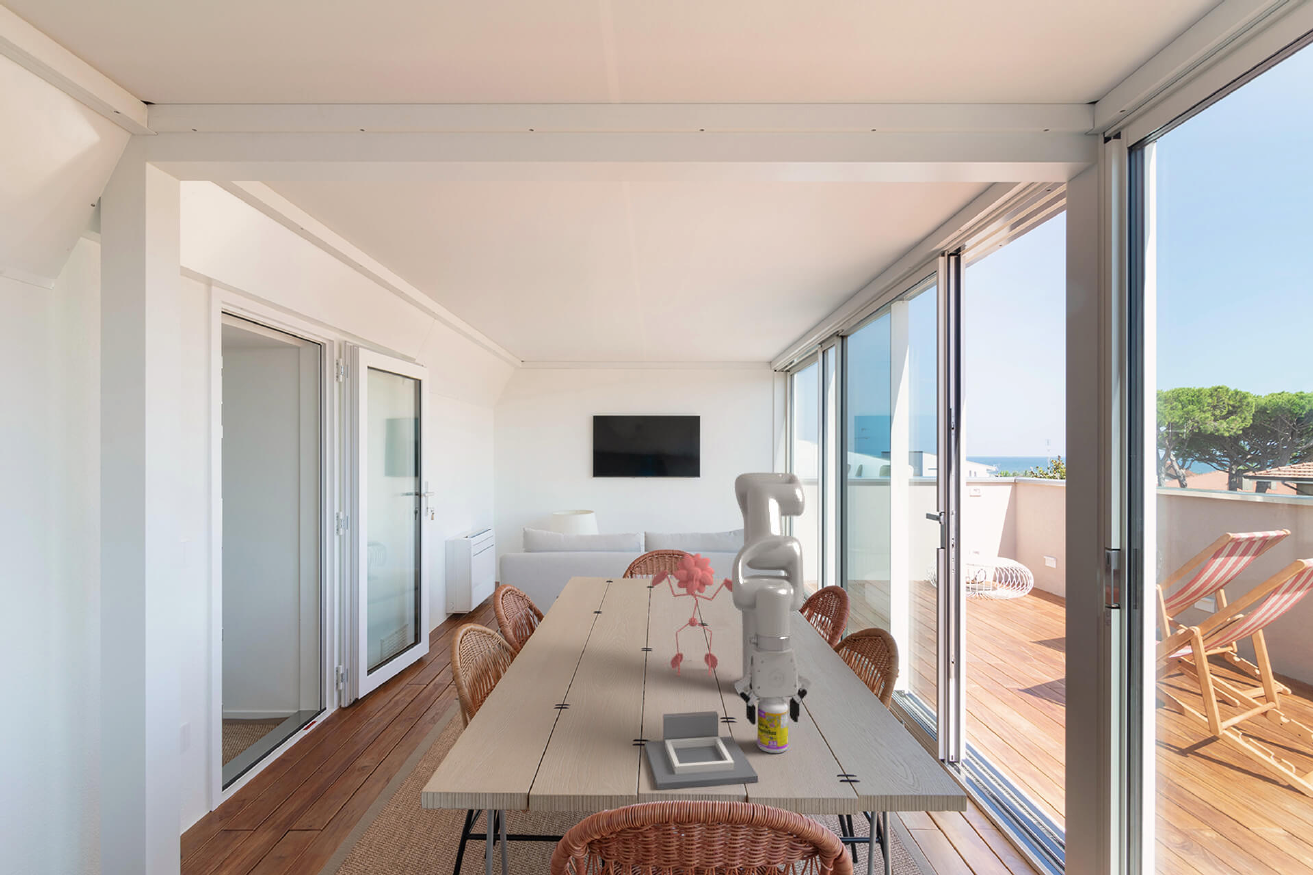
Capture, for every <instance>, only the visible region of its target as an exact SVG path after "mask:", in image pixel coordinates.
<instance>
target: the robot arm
mask: <svg viewBox="0 0 1313 875" xmlns="http://www.w3.org/2000/svg"><path fill="white" fill-rule="evenodd" d="M734 492H735V493H734V494H735V498H736V501H737V504H738V506H739V509H740V511H741V515H742V518H743V519H742V520H743V546H742V547H741V548H740V550H739V551H738V552H737V555H736V556H735V558H734V560H733V563H732V570H731V581H732V592H731V594H732V601H733V602H732V603H733V606H734V607H735V608H736V609H737V610H739V611H741V617H742V678H741V679H740V680H738V681H736V682H735V683H734V684H733V686H734V688H735V689H736V692H737V693H738V695H739V697H740V698H741V699H742V700H743V701H744V702H745V708H746V709H745V710H746V711H745V714H746V720H748V721H749V723H750V724H751V725H752V726H753V725H756V723H757V720H756V719H757V718H756V716H757V715H756V713H757V712H756V709H757V708H756V705H755V703H756V701H757V700H758V699H759V700H760V699H761V698H780V697H783V698H790V699H789V718H790V719H791V720H792V721H793V722H794V723H798V721H799V717H800V704H801V703H802V700H803V699H804V698H805V697H806V695H808V691H809V689H810V686H811V685H812V682H811V681H810V680H809V679H807V678H806V677H804V676H802V675H800V674H799V673H798V669H797V660H796V654H795V651H794V650H795V649H794V648H792V647H791V633H790V632H791V630H790V629H791V625H790V624H791V619H790V618H791V613H790V612H797V611H799V610H801V609H802V607H803V606H804V601H805V600H804V599H805V591H804V590H805V589H804V588H805V587H804V586H805V584H804V558H803V556H804V555H803V549H802V545H801V543H800V541H799V540H798V538H796V536H795V537H794V536H790V535H784V532H783V531H784V529H783V517H801V515H803V513H804V510H805V505H806V504H805V501H806V500H805V499H806V498H805V494H804V489H803V487H802V484H801V482H800V480H799V478H798V477H797V475H796V474H794V473H792V472H791V473H790V472H748V473H747V472H746V473H741V474H739V475H738V476H737V477H736V478H735V481H734ZM746 566H747V567H748V568H749V569H752V570H757V571H783V572H785V574H786V575H778V574H777V575H776V574H774V575H773V574H752V575H751V574H750V575H748V576H745V577H744V570H745V568H746ZM799 683H800V684H801V687H800V688H799Z"/></svg>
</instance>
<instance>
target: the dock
mask: <svg viewBox="0 0 1313 875" xmlns="http://www.w3.org/2000/svg"><path fill="white" fill-rule="evenodd" d="M662 716H663V717H662V720H663V721H662V724H663V725H662V740H655V741H645V742H644V749H645V753H646V755H647V759H648V763H649V766H650V769H651V773H652V775H653V779H654V783H655V785H656V786H655V787H656V789H657V791H660V790H661V791H662V790H673V789H674V790H675V789H676V790H677V789H685V788H686V789H687V788H700V787H713V786H724V784H725V786H726V784H728V785H737V784H736V783H741V784H751V783H750V782H754V783H759V775H758V773H757V772H756V770H755V769H754V768H753V766H752V765H751V762H750V761H749V759H748V758H747V756H746V754H745V753H744V752H743V750H742V749H741V747H740V745H739V744H738V743H737V741H736V739H735V737H734V736H733V735H732V736H730V735H729V736H721V737H720V736H719V714H718V712H717V711H716V710H715V711H713V710H712V711H711V710H710V711H695V712H678V713H663V715H662ZM746 782H747V783H746Z"/></svg>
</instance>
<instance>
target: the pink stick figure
mask: <svg viewBox="0 0 1313 875" xmlns="http://www.w3.org/2000/svg"><path fill="white" fill-rule="evenodd" d="M710 563H711V560H710V558H709V557H702V556H701V554H700V553H695V554H694V555H692V556H691V555H690V554H689V553H684V554H683V557H682V561H679V560H678V561H677V562H676V564H675V565H676V569H677V570H676V571H674V572H673V574H672V576H673V577H674V578H675V579H676V580H677V581H678V582H677V588H679V589H686V590H685V591H686V593H680V594H675V592H674V589H673V586H672V583H671V580H670V577H669V574H668V570H667V569H665V570H663V571H660V572H658V573H657V574H656V575H655V576H654V577H653V579H652V581H651V586H652V587H655V586H658V585H659V584H661V583H662V582H664V581H665V580H666V578H667V582H668V585H669V588H670V591H671V593H672V596H673V597H675V598H676V597H684V596H691V597H693V598H694V600H695V604H694V610H693V614H692V617H690V618H689V620H688V623H687V624H685V625H684V626H682V627H681V628H680V629H678V630H677V631H676V632H675V638H676V639H675V640H676V650H677V653H676V654H675V655H674V656H673V657H672V658H671V660H670V662H671V663H670V666H671V668H672V670H675V669H676V668H677V676H679V677H680V676H681V663H682V662H683V661H684V654H683V653H682V652H679V650H680V649H679V641H678V633H679V632H681V631H682V630H684V628H686V627H687V626H688V625H689V626H690V627H693V628H694V627H697V625H699V627H701V628H703V629H705V630H706V631H708V632H709V633H710V637H709V651H708V653H705V654H704V658H703V659H704V660H703V661H704V662H703V663H705V664H706V665H707V666H708V677H711V675H712V673H711V672H712V670H711V668H712V669H713V670H715V669H716V668H717V666H718V658H717V656H715V655H714V653H712V652H711V651H712V650H711V649H712V639H713V638H712V637H713V636H712V635H713V632H712V631H711V630H710V629H709V628H707V627H705V626H704V625H702V624H700V623H699V622H698V619H697V618H696V617H695V613H696V610H697V608H698V607H697V606H698V603H699V602H698V600H699V599H698V598H701V599H705V600H708V601H711V602H712V600H714V599H715V597H716V596H717V594H718V593H719V591H720V590H721V589H722V588H723V587H725V588H726V589H727V591H730V593H732V579H729V578H728V577H725V579H724V580H723V583H721V585H720V586H719V587H718V589H717V590H716V591H715V593H714V594H713V595H712V596H711V598H710V597H706V596H703V595H700V594H704V593H705V590H706V586H713V585H714V579H713V577H712V575H714V574H715V570H714V569H713V567H711V566H709V565H710ZM696 591H697V593H699V594H697V593H695V592H696ZM697 597H698V598H697ZM667 663H668V662H666V663H663V664H662V666H663V665H668V664H667Z"/></svg>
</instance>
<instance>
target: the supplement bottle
mask: <svg viewBox="0 0 1313 875" xmlns="http://www.w3.org/2000/svg"><path fill="white" fill-rule="evenodd" d="M757 702H758V703H757V746H758V747H759V749H760V750H762V751H763V752H766V753H769V754H780V753H784V752H785V751H787V749H788V748H789V704H788V703H787V701H786V700H785V699H784V697H780V698H761V699H759V700H758V701H757Z"/></svg>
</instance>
